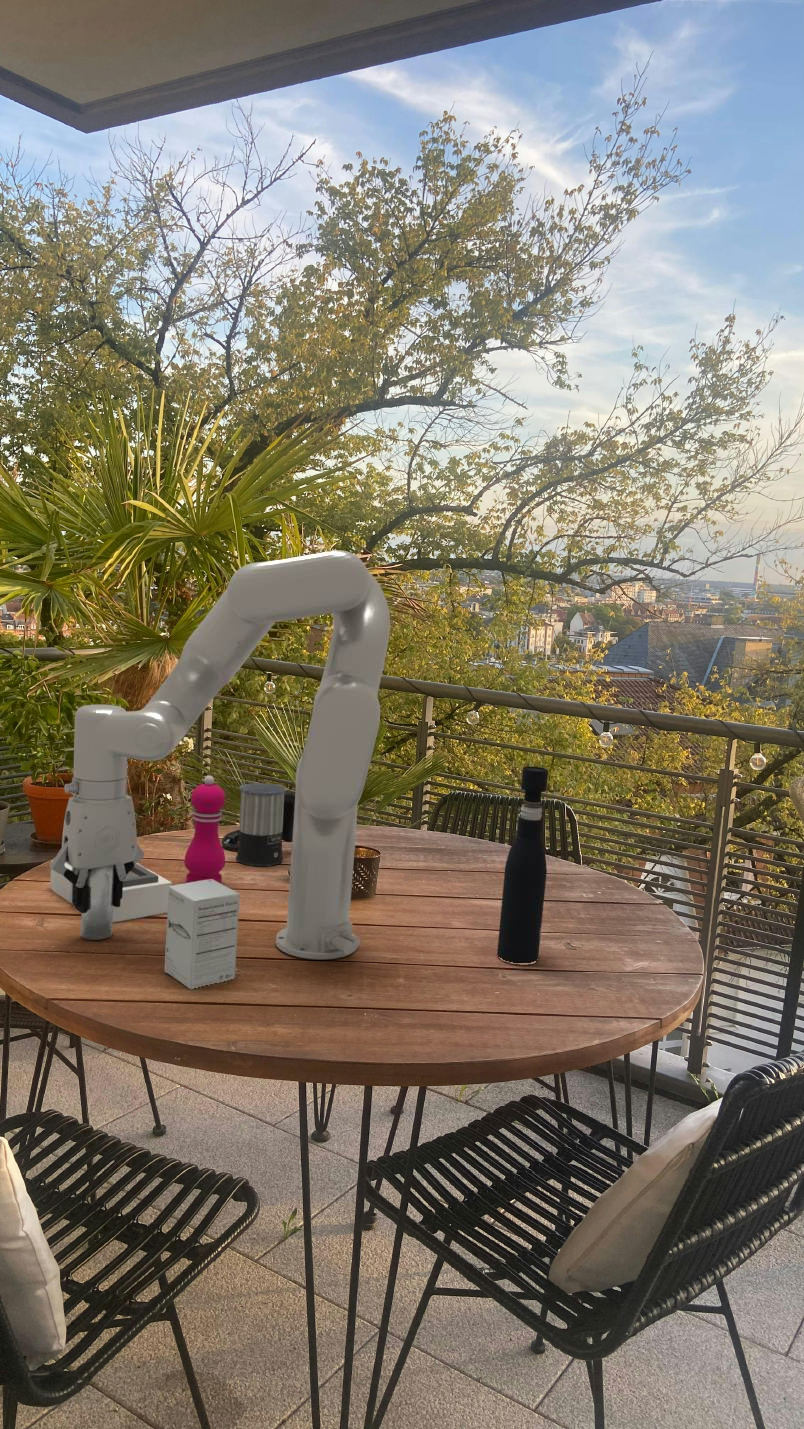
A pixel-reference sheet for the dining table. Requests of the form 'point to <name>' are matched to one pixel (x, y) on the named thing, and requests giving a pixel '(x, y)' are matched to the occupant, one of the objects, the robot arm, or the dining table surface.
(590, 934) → the dining table surface
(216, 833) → the pepper mill
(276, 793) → the milk frother
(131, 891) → the socket block
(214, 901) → the supplement box
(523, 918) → the dark water bottle
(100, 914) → the peg
